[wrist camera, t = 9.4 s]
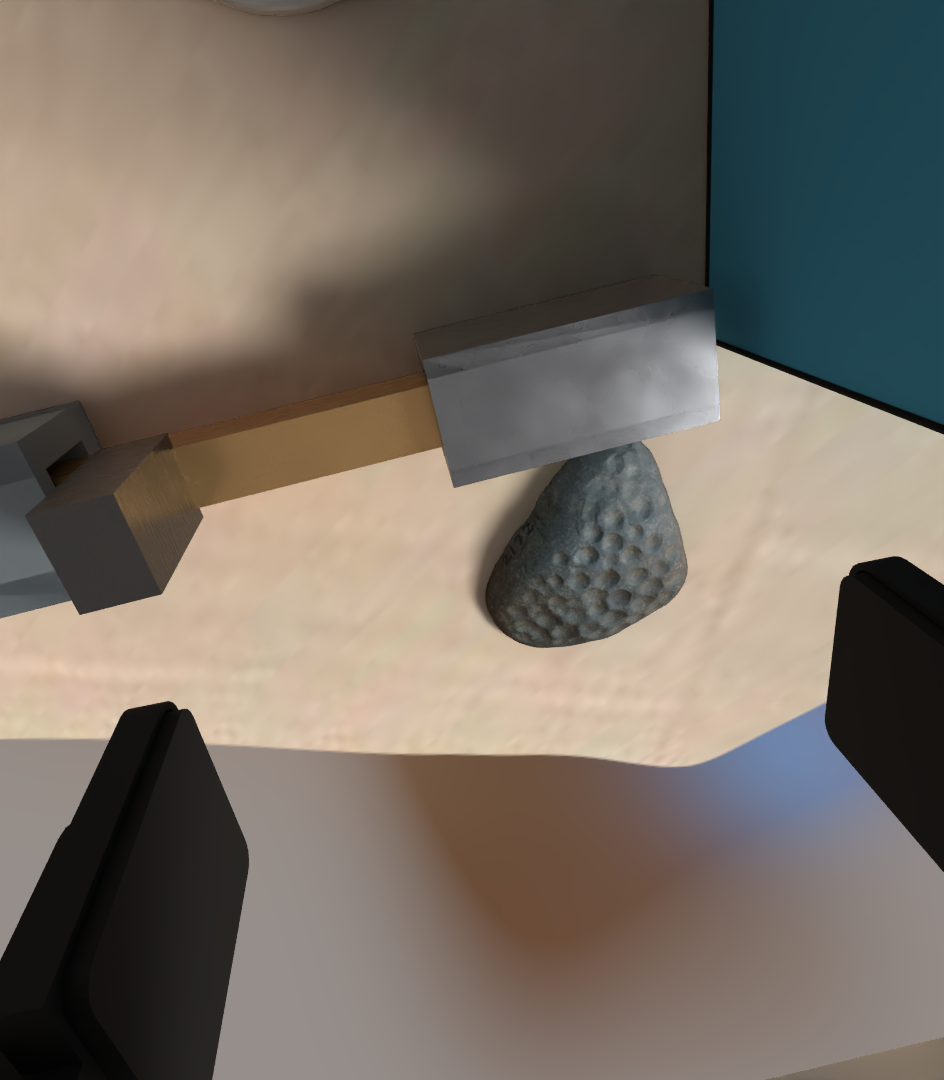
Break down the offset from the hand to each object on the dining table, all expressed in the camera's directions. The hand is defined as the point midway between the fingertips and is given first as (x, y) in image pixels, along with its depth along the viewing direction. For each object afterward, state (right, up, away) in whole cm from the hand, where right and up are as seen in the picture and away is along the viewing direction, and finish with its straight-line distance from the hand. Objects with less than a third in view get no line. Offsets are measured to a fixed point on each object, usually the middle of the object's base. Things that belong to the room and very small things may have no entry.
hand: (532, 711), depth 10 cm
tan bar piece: (-11, +7, +23) cm, 26 cm away
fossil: (+5, +2, +30) cm, 31 cm away
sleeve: (+3, +11, +25) cm, 28 cm away
